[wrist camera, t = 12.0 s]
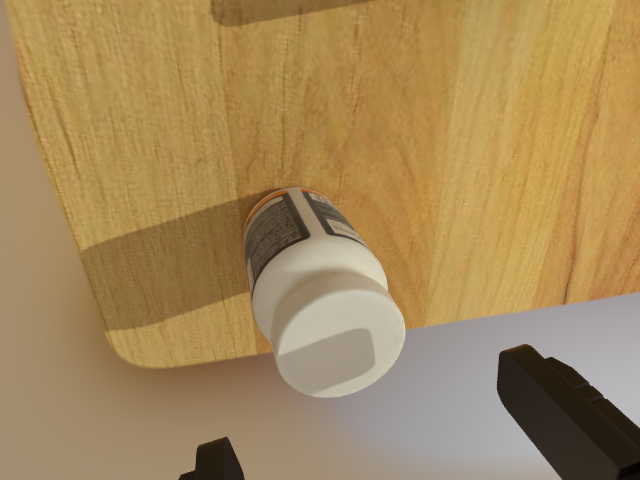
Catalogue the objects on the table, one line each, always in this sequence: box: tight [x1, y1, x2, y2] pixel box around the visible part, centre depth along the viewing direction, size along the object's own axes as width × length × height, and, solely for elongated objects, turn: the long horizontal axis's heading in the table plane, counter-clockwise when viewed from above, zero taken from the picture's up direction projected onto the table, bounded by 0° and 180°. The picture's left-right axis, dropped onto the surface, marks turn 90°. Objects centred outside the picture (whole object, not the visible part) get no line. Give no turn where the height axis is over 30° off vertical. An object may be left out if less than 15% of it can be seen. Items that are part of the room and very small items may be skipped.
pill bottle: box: [243, 187, 405, 398], centre depth 17 cm, size 6×6×10 cm
